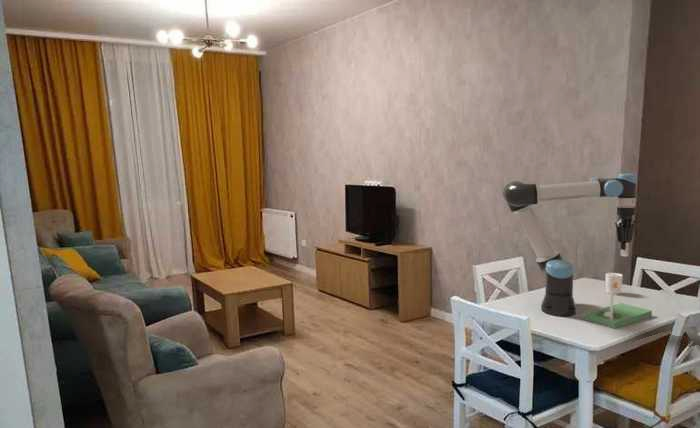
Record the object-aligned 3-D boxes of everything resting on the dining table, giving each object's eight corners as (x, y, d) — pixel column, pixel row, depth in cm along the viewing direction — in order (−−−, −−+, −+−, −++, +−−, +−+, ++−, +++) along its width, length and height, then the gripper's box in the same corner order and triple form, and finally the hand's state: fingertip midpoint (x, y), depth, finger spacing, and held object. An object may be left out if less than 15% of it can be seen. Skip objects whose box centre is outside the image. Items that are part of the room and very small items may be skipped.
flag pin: (611, 320, 199) (613, 284, 198) (609, 320, 200) (610, 283, 198) (616, 319, 201) (618, 282, 199) (614, 318, 202) (615, 282, 200)
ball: (609, 322, 208) (604, 322, 206) (604, 314, 210) (599, 314, 208) (617, 318, 205) (612, 318, 203) (611, 309, 207) (606, 310, 205)
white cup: (622, 292, 249) (623, 273, 248) (621, 295, 243) (622, 276, 242) (605, 290, 253) (606, 272, 252) (604, 293, 247) (604, 275, 246)
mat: (614, 328, 197) (614, 322, 197) (583, 319, 210) (584, 313, 209) (651, 316, 211) (651, 310, 211) (620, 308, 223) (620, 302, 223)
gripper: (626, 208, 215) (624, 259, 217) (642, 206, 221) (640, 255, 224) (610, 207, 221) (608, 256, 224) (626, 205, 228) (624, 253, 230)
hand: (624, 255), depth 224 cm, fingers closed
